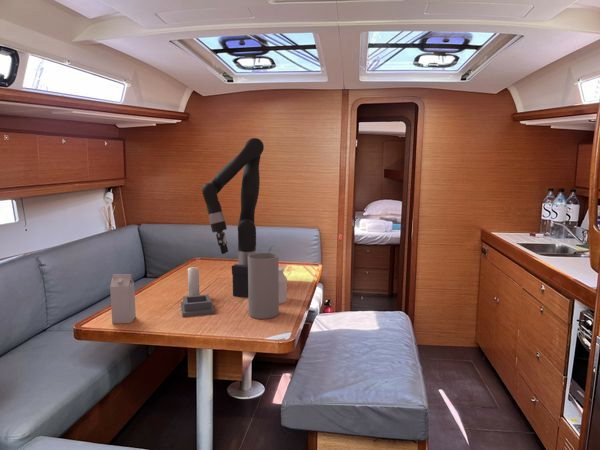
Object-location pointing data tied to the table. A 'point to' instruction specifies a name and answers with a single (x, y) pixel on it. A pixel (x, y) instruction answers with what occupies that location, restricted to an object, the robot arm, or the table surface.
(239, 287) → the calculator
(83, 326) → the table surface
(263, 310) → the cylinder vase
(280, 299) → the jar
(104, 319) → the table surface
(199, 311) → the roll holder
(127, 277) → the milk carton
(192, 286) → the paper roll
